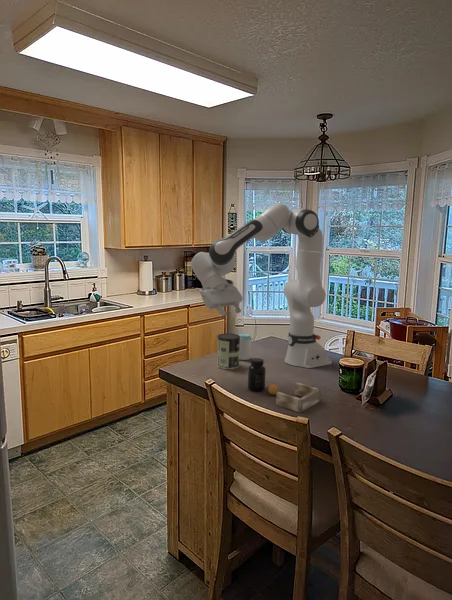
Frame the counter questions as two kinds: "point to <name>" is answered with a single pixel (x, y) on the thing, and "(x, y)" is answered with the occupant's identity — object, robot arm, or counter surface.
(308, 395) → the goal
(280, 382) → the counter surface
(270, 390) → the ball
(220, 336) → the coffee can
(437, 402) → the counter surface
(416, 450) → the counter surface
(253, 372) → the supplement bottle
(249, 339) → the teal lidded jar
